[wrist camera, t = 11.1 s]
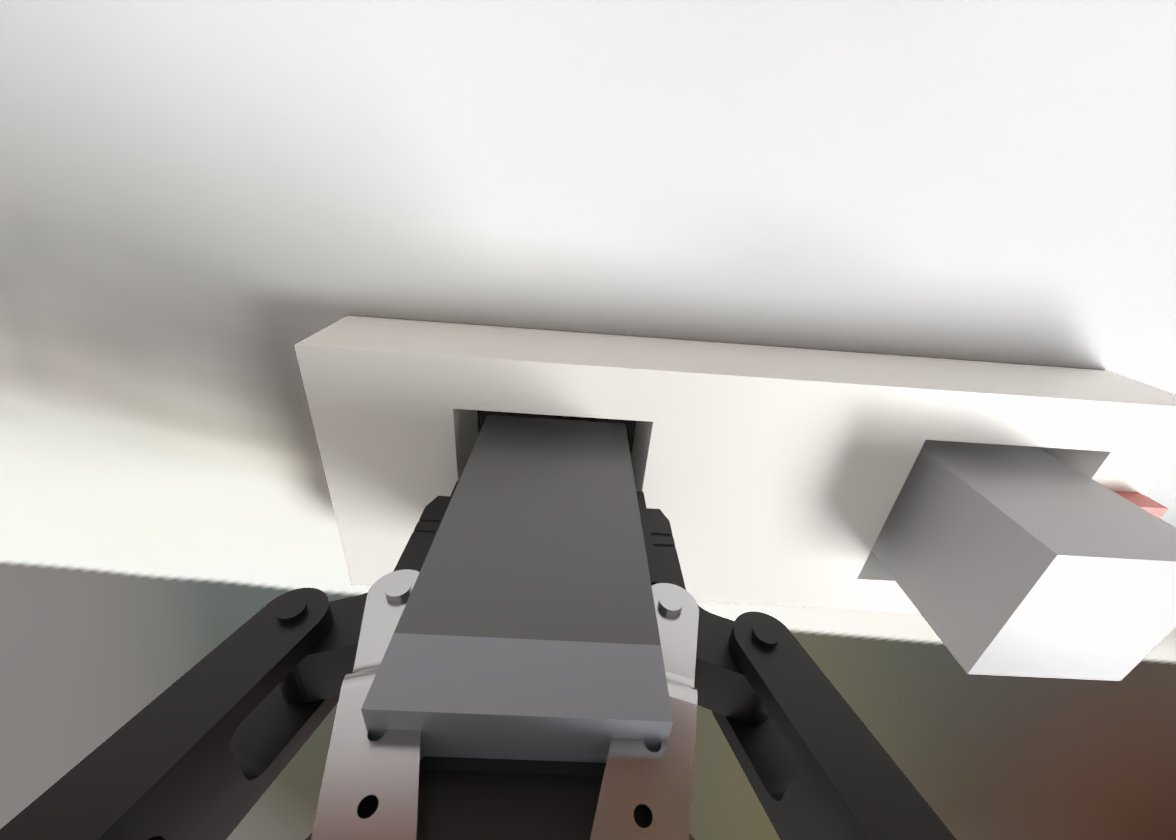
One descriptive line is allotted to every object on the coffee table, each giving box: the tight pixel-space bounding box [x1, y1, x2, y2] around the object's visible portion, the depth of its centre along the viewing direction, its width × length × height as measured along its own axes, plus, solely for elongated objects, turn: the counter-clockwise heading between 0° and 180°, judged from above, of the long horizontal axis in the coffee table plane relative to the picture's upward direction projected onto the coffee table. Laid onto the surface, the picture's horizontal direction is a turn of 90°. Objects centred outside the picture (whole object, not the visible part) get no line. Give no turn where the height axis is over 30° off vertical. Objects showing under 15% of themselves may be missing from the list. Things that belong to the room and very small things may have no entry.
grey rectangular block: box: [361, 415, 673, 763], centre depth 11 cm, size 4×4×9 cm
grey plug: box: [872, 440, 1176, 681], centre depth 14 cm, size 4×4×7 cm
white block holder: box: [294, 316, 1176, 614], centre depth 16 cm, size 9×26×4 cm, turn 86°
